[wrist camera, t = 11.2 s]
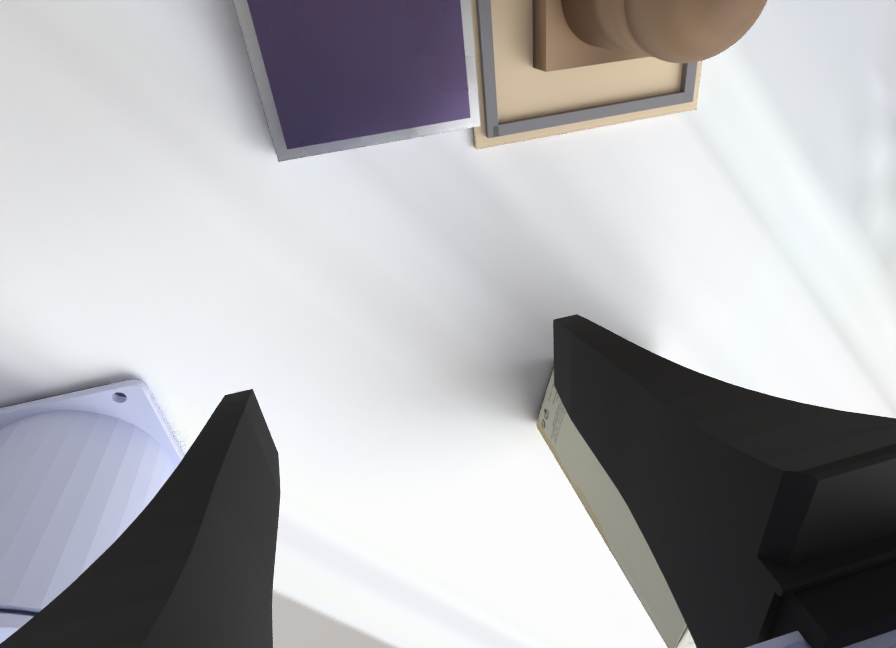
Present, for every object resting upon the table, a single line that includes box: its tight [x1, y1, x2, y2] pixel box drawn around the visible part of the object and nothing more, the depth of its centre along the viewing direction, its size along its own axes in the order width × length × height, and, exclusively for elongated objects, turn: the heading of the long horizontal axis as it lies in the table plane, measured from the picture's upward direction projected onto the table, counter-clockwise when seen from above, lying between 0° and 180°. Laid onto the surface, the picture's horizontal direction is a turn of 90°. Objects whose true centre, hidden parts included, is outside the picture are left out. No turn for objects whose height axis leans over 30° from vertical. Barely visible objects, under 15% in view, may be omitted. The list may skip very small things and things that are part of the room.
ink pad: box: [233, 0, 480, 162], centre depth 17 cm, size 7×7×1 cm
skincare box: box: [537, 369, 696, 648], centre depth 23 cm, size 6×4×12 cm
